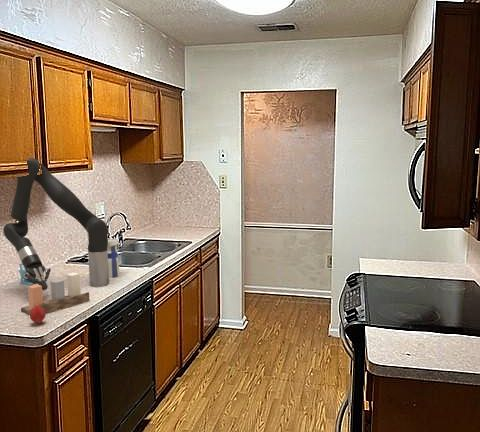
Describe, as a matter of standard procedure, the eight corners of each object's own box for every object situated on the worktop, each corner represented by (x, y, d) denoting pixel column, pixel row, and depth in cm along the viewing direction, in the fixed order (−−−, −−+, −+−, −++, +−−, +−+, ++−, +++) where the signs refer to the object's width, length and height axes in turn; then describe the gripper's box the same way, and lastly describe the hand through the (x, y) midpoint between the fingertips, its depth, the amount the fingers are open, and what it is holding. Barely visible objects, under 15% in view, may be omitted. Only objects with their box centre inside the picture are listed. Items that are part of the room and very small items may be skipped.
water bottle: (108, 279, 256) (105, 231, 252) (101, 275, 262) (99, 229, 258) (123, 276, 260) (121, 229, 256) (116, 272, 267) (114, 227, 263)
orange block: (38, 306, 209) (37, 284, 208) (43, 309, 207) (41, 286, 205) (29, 309, 206) (27, 286, 205) (34, 311, 204) (32, 288, 202)
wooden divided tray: (76, 296, 229) (75, 287, 228) (89, 301, 222) (89, 292, 221) (21, 311, 209) (20, 302, 209) (33, 317, 202) (33, 307, 202)
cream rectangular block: (75, 293, 227) (74, 272, 225) (80, 295, 224) (79, 274, 223) (67, 295, 224) (66, 274, 222) (72, 297, 221) (71, 275, 220)
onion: (27, 325, 194) (25, 305, 193) (37, 320, 199) (36, 301, 198) (38, 327, 192) (37, 307, 190) (49, 322, 197) (47, 302, 196)
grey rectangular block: (60, 300, 217) (59, 278, 215) (65, 302, 214) (63, 280, 213) (51, 303, 214) (50, 281, 212) (56, 305, 211) (55, 282, 210)
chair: (26, 280, 254) (24, 257, 252) (41, 281, 252) (39, 258, 250) (17, 284, 247) (15, 261, 245) (32, 285, 245) (30, 262, 243)
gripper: (17, 256, 219) (33, 288, 213) (45, 250, 229) (61, 281, 223) (13, 265, 223) (28, 297, 218) (40, 260, 233) (56, 290, 228)
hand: (45, 289), depth 220 cm, fingers closed
